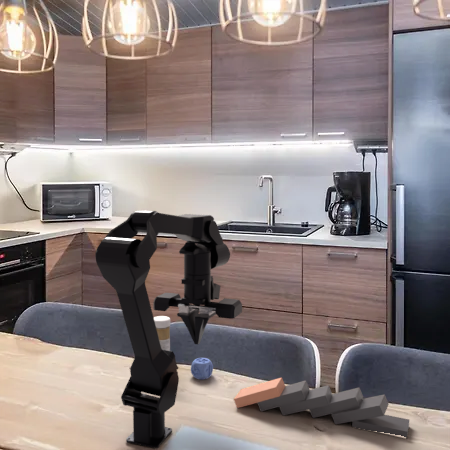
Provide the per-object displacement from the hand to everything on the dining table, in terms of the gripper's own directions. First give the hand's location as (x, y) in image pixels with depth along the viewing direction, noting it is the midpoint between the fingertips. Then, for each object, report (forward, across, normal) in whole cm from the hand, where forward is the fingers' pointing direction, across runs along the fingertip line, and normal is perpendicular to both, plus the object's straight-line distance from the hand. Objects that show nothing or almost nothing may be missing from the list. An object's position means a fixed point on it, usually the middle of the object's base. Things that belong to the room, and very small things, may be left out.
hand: (197, 343), depth 104 cm
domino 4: (+11, -25, -3) cm, 28 cm away
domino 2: (+11, -14, -2) cm, 18 cm away
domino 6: (+12, -33, -2) cm, 36 cm away
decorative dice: (+12, +4, -11) cm, 17 cm away
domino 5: (+11, -30, -2) cm, 32 cm away
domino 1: (+11, -9, -2) cm, 15 cm away
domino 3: (+11, -19, -2) cm, 22 cm away
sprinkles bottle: (+12, +15, -11) cm, 22 cm away
